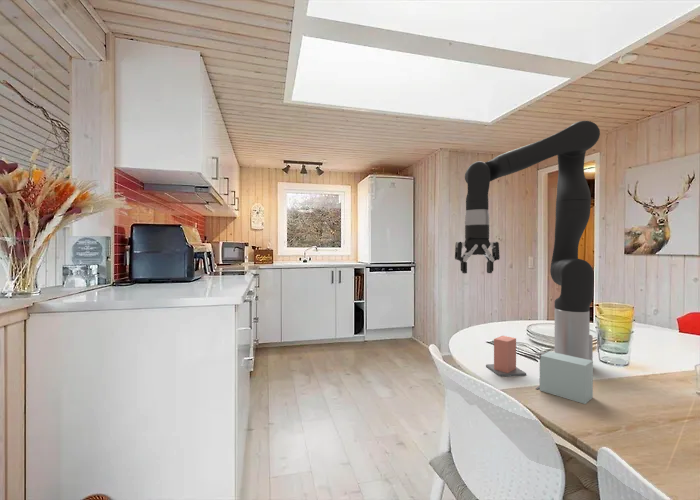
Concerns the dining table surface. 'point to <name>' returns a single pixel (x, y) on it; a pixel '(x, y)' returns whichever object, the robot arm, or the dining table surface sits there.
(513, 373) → the coaster
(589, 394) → the pale green block
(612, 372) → the dining table surface
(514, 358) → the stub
